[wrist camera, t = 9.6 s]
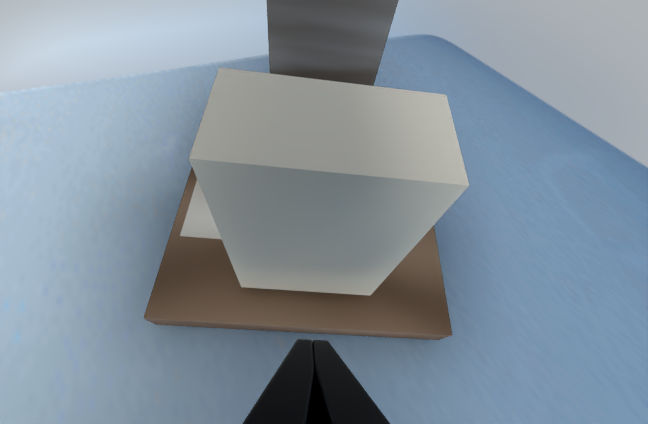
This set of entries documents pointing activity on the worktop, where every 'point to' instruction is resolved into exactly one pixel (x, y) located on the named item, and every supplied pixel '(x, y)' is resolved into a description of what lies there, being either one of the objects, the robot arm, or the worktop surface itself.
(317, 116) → the cream eraser-shaped block
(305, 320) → the board
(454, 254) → the worktop surface
